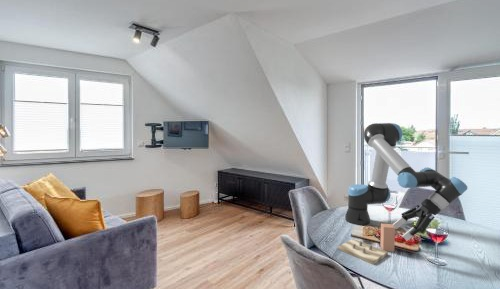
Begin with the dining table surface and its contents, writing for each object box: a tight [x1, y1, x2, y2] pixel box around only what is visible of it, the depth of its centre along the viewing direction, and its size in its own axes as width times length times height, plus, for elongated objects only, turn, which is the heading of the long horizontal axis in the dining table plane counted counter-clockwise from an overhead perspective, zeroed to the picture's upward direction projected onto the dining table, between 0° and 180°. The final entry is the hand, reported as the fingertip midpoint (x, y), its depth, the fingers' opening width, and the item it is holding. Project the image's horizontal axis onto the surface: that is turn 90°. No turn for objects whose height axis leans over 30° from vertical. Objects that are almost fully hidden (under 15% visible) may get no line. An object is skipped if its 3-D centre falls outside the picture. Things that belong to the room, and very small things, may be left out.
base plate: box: [337, 238, 389, 265], centre depth 123 cm, size 14×18×4 cm
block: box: [379, 223, 396, 252], centre depth 126 cm, size 5×5×12 cm
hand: (398, 232), depth 123 cm, fingers open, 13 cm apart
